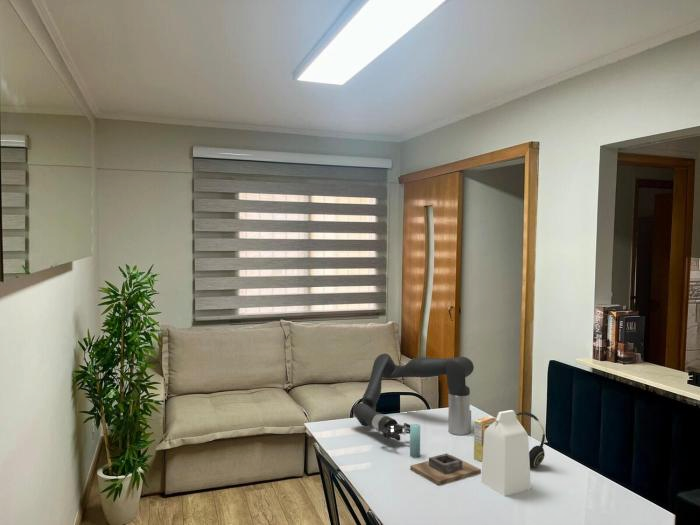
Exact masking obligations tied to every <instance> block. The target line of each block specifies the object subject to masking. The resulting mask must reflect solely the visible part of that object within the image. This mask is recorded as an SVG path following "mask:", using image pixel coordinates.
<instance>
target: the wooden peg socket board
mask: <svg viewBox="0 0 700 525" xmlns="http://www.w3.org/2000/svg"><path fill="white" fill-rule="evenodd" d="M409 470H410V471H412V472H414V473H416V474H417V475H419V476H421V477H422V478H425V479H426V480H428V481H430V482H431V483H433V484H435V485H437V486H443V485H445V484H448V483H452V482H456V481H459V480H462V479H467V478H468V477H473V476H477V475H480V474H482V468H480V467H476V466H475V465H473V464H471V463H468V462H467V461H464V460H463V459H460V458H458V457H456V456H454V455H452V454H449V453H443V454H439V455H434V456H431V457H428V460H427V461H423V462H420V463H416V464H411V465H410V468H409Z"/></svg>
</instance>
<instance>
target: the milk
mask: <svg viewBox="0 0 700 525" xmlns="http://www.w3.org/2000/svg"><path fill="white" fill-rule="evenodd" d="M516 415H517V414H516V411H515V410H513V409H509V410H502V411H498V413H497V415H496V418H495V419H496V421H495V422H493V423H492V424H491V425H490V426H489V427H487V428H486V430H485V432H484V443H483V460H482V462H481V463H482V464H481V479H480V484H482V483H483V485H484V486H486V487H488V488H490V489H491V490H493V491H495V492H496V493H499V495H502V496H504V497H505V496H509V495H513V494H517V493H521V492H524V491H528V490H530V489H532V486H531V485H532V483H531V467H530V461H529V452H530V447H529V445H530V444H529V434H528V433H527V431H526V430H525V428H524V426H523V425H522V424H521V423H520V421H519V420H518V418H517V416H516Z"/></svg>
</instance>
